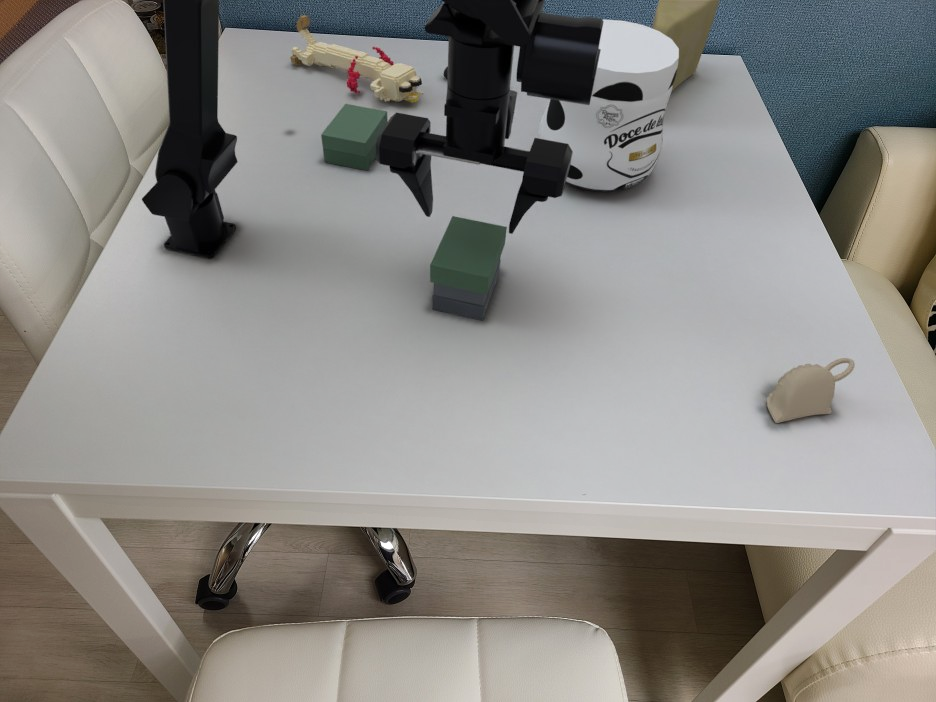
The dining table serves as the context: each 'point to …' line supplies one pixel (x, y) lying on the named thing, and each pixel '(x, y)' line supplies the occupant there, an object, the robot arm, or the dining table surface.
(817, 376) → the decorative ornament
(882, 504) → the dining table surface
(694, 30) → the cheese
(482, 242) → the sage block
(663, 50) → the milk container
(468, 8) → the robot arm
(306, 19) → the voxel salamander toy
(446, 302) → the grey stack
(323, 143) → the sage stack
